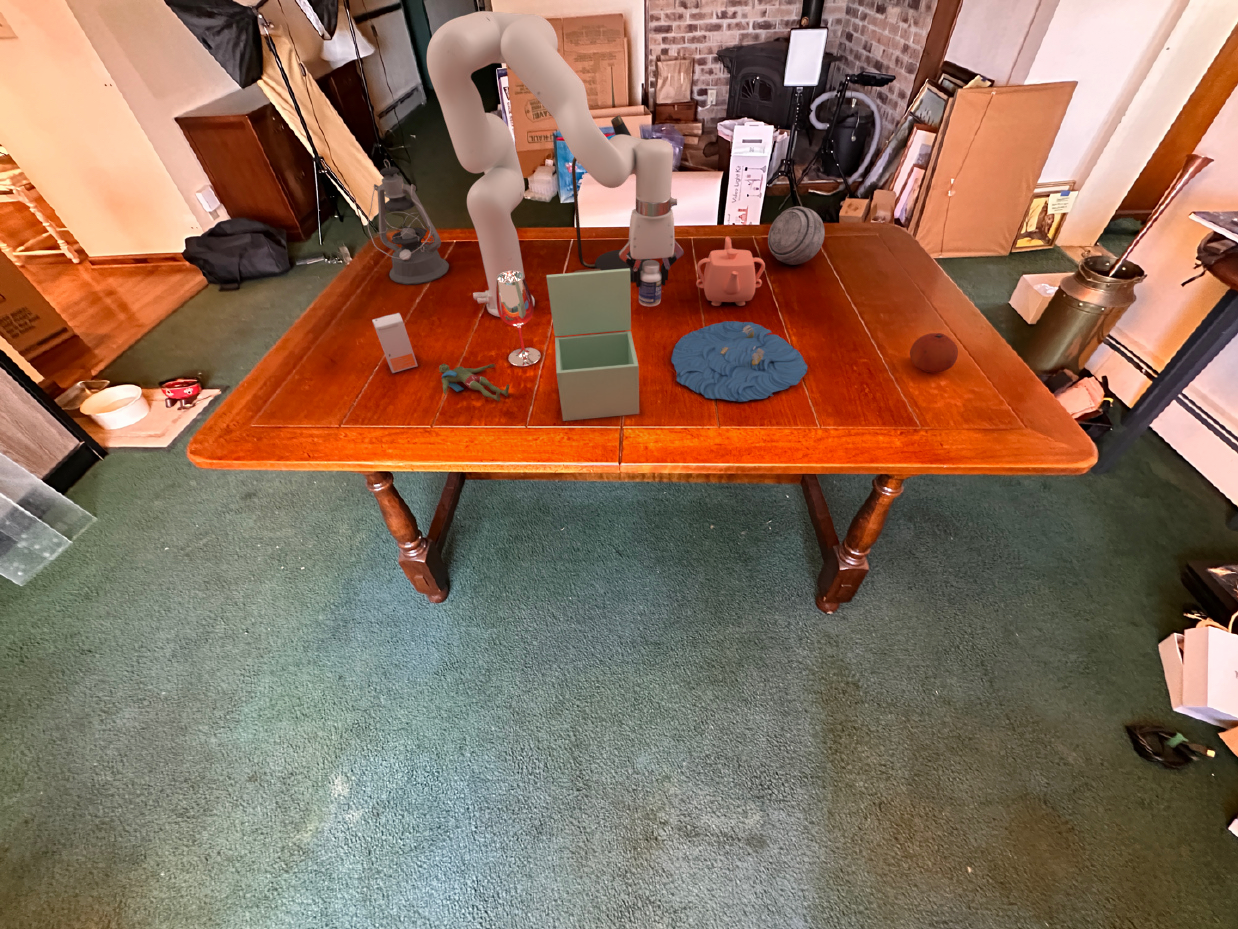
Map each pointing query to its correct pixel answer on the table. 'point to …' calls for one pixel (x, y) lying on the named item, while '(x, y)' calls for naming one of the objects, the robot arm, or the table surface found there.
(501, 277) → the wineglass
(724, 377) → the blue flat rumpled sheet
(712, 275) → the teapot
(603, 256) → the lamp
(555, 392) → the table surface
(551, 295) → the lid
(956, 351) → the fruit
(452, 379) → the figurine
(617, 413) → the chest
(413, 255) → the lantern
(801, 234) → the decorative orb
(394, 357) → the cosmetic box
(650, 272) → the pill bottle
